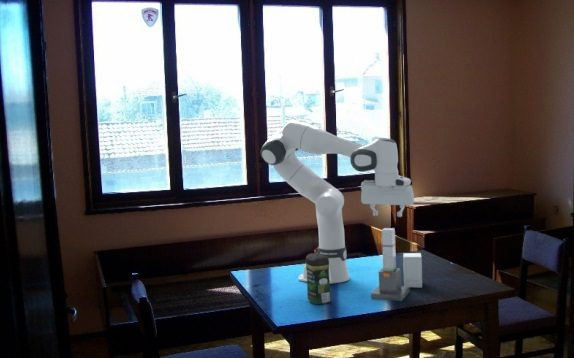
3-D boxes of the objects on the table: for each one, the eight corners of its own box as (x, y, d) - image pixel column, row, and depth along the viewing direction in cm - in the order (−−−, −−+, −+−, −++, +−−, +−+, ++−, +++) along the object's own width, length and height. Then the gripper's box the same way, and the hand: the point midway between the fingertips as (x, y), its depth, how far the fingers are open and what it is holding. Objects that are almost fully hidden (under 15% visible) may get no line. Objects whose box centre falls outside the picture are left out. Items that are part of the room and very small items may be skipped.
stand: (371, 298, 231) (370, 273, 230) (380, 289, 242) (379, 265, 241) (401, 301, 226) (400, 275, 225) (409, 291, 236) (408, 267, 235)
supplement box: (422, 287, 241) (421, 256, 240) (403, 287, 243) (402, 257, 242) (422, 282, 249) (421, 252, 247) (404, 282, 250) (403, 252, 249)
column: (383, 275, 232) (381, 229, 230) (386, 272, 236) (384, 227, 234) (393, 276, 230) (392, 230, 228) (396, 273, 234) (394, 228, 232)
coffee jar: (304, 299, 234) (302, 253, 232) (322, 296, 237) (320, 250, 235) (315, 306, 225) (312, 258, 223) (334, 303, 228) (331, 255, 226)
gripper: (358, 181, 231) (359, 216, 232) (410, 181, 222) (411, 218, 223) (363, 179, 236) (364, 213, 238) (414, 179, 227) (415, 215, 229)
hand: (387, 216), depth 230 cm, fingers open, 8 cm apart
